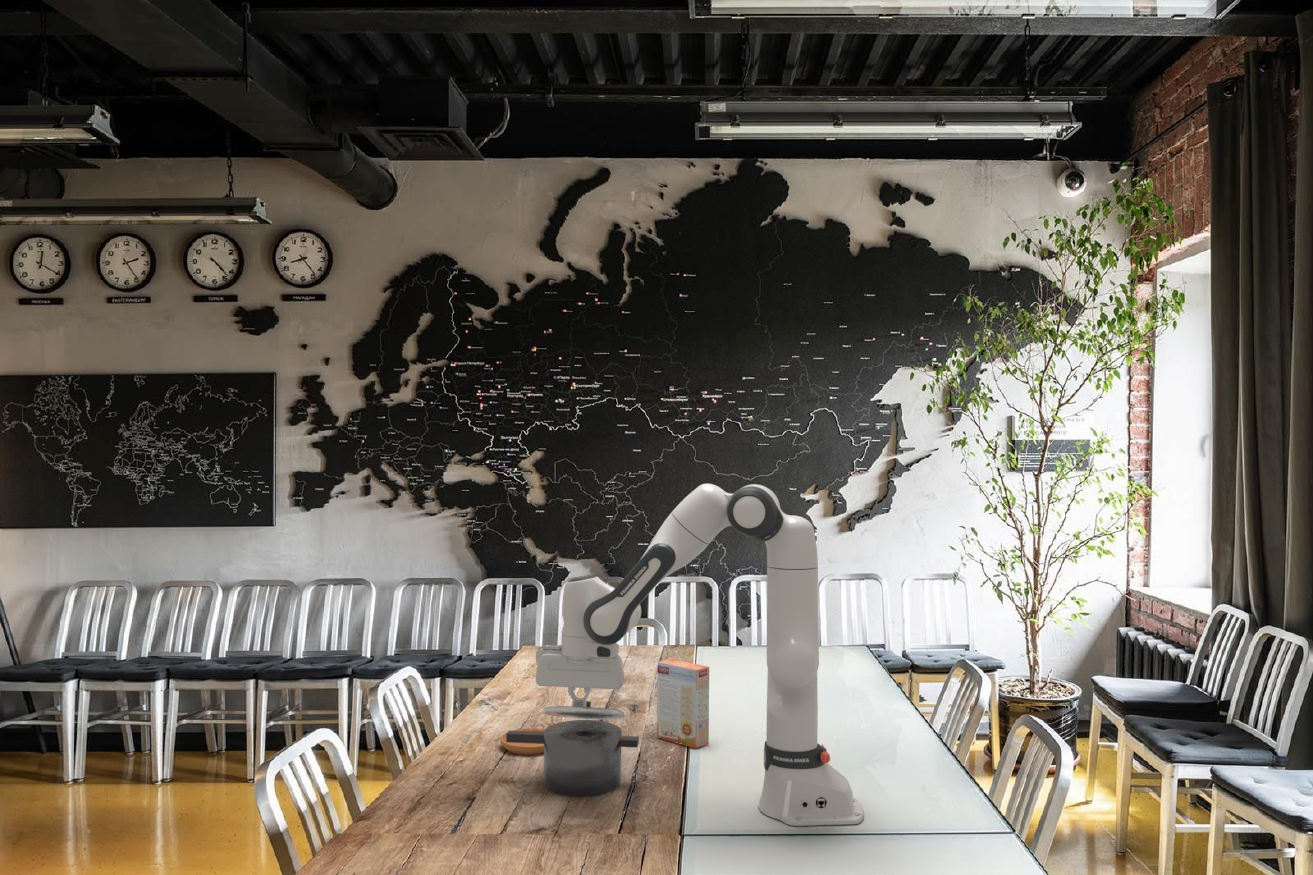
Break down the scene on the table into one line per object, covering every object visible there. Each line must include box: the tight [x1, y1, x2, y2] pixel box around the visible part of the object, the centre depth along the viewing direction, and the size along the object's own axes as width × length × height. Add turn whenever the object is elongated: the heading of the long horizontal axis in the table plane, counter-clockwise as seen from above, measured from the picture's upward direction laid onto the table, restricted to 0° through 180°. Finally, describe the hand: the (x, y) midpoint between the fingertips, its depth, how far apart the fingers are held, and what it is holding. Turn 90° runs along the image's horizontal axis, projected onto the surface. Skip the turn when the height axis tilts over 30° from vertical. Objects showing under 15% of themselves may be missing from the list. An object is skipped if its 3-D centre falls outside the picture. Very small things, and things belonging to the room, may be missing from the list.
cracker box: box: [656, 658, 710, 750], centre depth 250 cm, size 14×6×21 cm, turn 47°
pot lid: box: [542, 700, 625, 720], centre depth 219 cm, size 19×19×3 cm
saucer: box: [499, 727, 546, 756], centre depth 244 cm, size 16×16×3 cm
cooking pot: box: [506, 719, 640, 798], centre depth 218 cm, size 31×18×12 cm, turn 84°
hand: (579, 706), depth 214 cm, fingers closed, pressing on pot lid
